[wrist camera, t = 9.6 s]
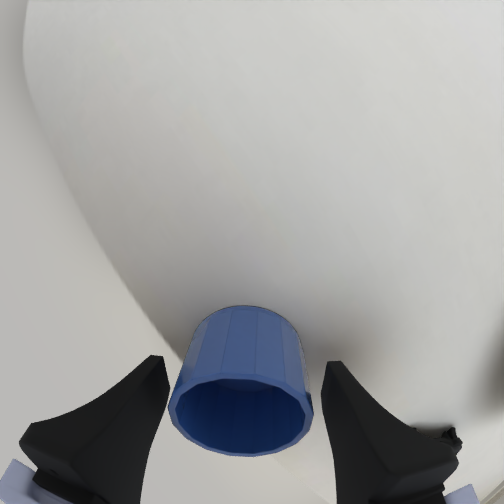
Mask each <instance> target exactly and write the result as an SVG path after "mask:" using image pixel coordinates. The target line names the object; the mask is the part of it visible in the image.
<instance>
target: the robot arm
mask: <svg viewBox="0 0 504 504" xmlns="http://www.w3.org/2000/svg"><path fill="white" fill-rule="evenodd" d="M169 392H170V385H169V381H168V376H167V372H166V368H165V363H164V359H163V356H154V355H150V356H149V357H148V358H146V359H145V360H144V361H143V362H142V363H141V364H140V365H139V366H137V367H136V368H135V369H134V370H133V371H132V372H131V373H129V374H128V375H127V376H126V377H125V378H124V379H122V380H121V381H120V382H119V383H117V384H116V385H115V386H113V387H112V388H111V389H109V390H108V391H107V392H106V393H104V394H102V395H101V396H99V397H98V398H96V399H94V400H93V401H91V402H89V403H87V404H85V405H83V406H81V407H79V408H77V409H75V410H73V411H71V412H68V413H66V414H63V415H61V416H58V417H55V418H51V419H48V420H44V421H39V422H35V423H31V424H30V426H29V427H28V429H27V430H26V432H25V433H24V435H23V436H22V438H21V440H20V441H19V445H20V447H21V449H22V451H23V452H24V453H25V454H26V455H27V456H28V458H29V459H30V460H31V461H32V462H33V463H34V464H35V465H36V466H37V467H38V469H37V471H36V472H34V471H33V470H32V469H31V468H29V467H27V466H26V465H24V464H22V463H21V462H19V461H18V460H16V459H13V460H12V462H11V463H10V465H9V467H8V468H7V470H6V471H5V473H4V475H3V477H2V478H1V480H0V499H1V500H2V501H3V502H4V503H6V504H140V498H141V491H142V485H143V478H144V473H145V469H146V464H147V459H148V455H149V451H150V448H151V445H152V442H153V439H154V437H155V434H156V431H157V429H158V426H159V424H160V421H161V419H162V416H163V413H164V411H165V408H166V404H167V401H168V396H169ZM321 401H322V410H323V415H324V420H325V424H326V428H327V432H328V436H329V440H330V444H331V448H332V453H333V459H334V468H335V478H336V494H337V504H480V503H479V500H478V498H477V496H476V493H475V491H474V488H473V486H472V484H468V485H466V486H464V487H462V488H460V489H458V490H456V491H453V492H451V493H449V494H448V495H446V496H443V493H442V492H443V491H444V490H445V487H444V484H443V482H444V481H445V480H446V479H447V478H448V477H449V476H450V475H451V474H452V473H453V472H454V471H455V470H456V469H457V467H458V464H459V462H458V459H457V457H456V455H455V452H454V451H453V449H452V447H451V445H448V444H445V443H442V442H440V441H437V440H435V439H432V438H430V437H428V436H426V435H424V434H422V433H420V432H418V431H416V430H414V429H413V428H411V427H409V426H408V425H406V424H405V423H403V422H401V421H400V420H399V419H397V418H396V417H394V416H393V415H392V414H391V413H389V412H388V411H387V410H386V409H384V408H383V407H382V406H381V405H380V404H379V403H378V402H377V401H376V400H375V399H374V398H373V397H372V396H371V395H370V394H369V393H368V392H367V391H366V390H365V389H364V388H363V387H362V386H361V384H360V383H359V382H358V381H357V380H356V379H355V377H354V376H353V375H352V374H351V373H350V371H349V370H348V369H347V368H346V366H345V365H344V364H343V363H342V362H341V361H329V362H327V366H326V371H325V376H324V381H323V385H322V390H321Z"/></svg>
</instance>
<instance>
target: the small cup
mask: <svg viewBox="0 0 504 504" xmlns="http://www.w3.org/2000/svg"><path fill="white" fill-rule="evenodd" d="M168 411H169V414H170V417H171V421H172V424H173V425H174V426H175V427H176V428H177V429H178V430H179V432H180V433H181V434H182V435H183V436H184V437H185V438H186V439H188V440H190V441H192V442H193V443H195V444H197V445H199V446H201V447H202V448H204V449H207V450H210V451H213V452H217V453H221V454H225V455H229V456H245V457H256V456H262V455H268V454H273V453H277V452H280V451H282V450H284V449H286V448H288V447H291V446H293V445H295V444H296V443H298V442H299V441H300V440H301V439H302V438H303V437H304V436H305V435H306V434H307V433H308V432H309V430H310V428H311V424H312V420H313V415H314V412H313V406H312V400H311V394H310V388H309V382H308V376H307V370H306V364H305V359H304V353H303V348H302V346H301V342H300V339H299V336H298V334H297V332H296V331H295V329H294V328H293V326H292V325H291V324H290V323H289V322H288V321H286V320H285V319H284V318H283V317H281V316H280V315H278V314H276V313H274V312H272V311H270V310H267V309H263V308H259V307H254V306H235V307H229V308H225V309H222V310H219V311H217V312H215V313H213V314H211V315H210V316H208V317H207V318H206V319H204V320H203V321H202V322H201V323H200V325H199V326H198V328H197V329H196V331H195V333H194V335H193V338H192V341H191V343H190V346H189V349H188V351H187V354H186V357H185V360H184V362H183V365H182V368H181V370H180V373H179V376H178V379H177V382H176V384H175V387H174V390H173V393H172V396H171V398H170V401H169V405H168Z"/></svg>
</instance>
